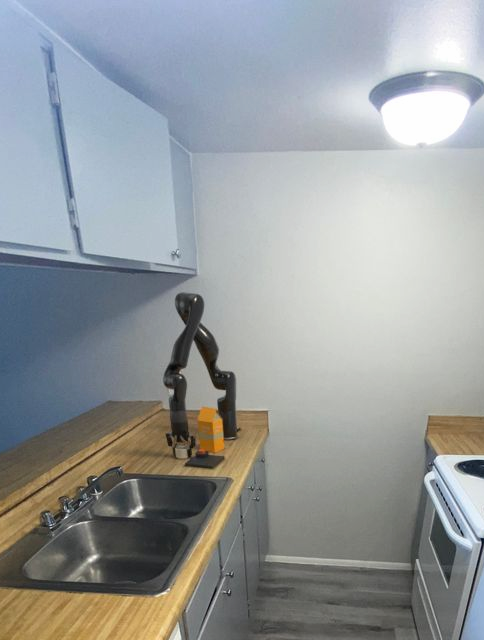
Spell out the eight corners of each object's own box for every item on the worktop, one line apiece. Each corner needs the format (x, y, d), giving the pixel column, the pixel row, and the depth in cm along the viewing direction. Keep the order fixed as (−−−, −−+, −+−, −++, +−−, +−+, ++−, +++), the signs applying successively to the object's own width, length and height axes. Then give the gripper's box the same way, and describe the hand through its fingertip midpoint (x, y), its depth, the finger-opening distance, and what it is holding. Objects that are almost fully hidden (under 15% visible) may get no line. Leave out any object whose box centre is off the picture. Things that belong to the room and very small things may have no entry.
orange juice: (209, 445, 233) (206, 404, 224) (224, 448, 230) (221, 407, 220) (199, 450, 227) (196, 408, 218) (214, 452, 224) (211, 410, 214)
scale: (199, 456, 219) (198, 450, 218) (225, 458, 216) (224, 452, 215) (185, 466, 207) (184, 459, 205) (212, 469, 204) (211, 462, 202)
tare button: (200, 452, 216) (200, 448, 215) (206, 452, 215) (206, 449, 215) (197, 454, 214) (197, 450, 213) (203, 454, 213) (203, 451, 212)
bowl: (180, 454, 221) (178, 445, 219) (192, 455, 219) (191, 446, 217) (173, 458, 216) (172, 449, 213) (186, 460, 214) (185, 450, 212)
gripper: (197, 418, 211) (200, 455, 219) (168, 416, 214) (172, 452, 222) (190, 423, 204) (193, 460, 212) (160, 420, 208) (164, 457, 216)
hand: (182, 455), depth 217 cm, fingers closed on bowl, 6 cm apart
